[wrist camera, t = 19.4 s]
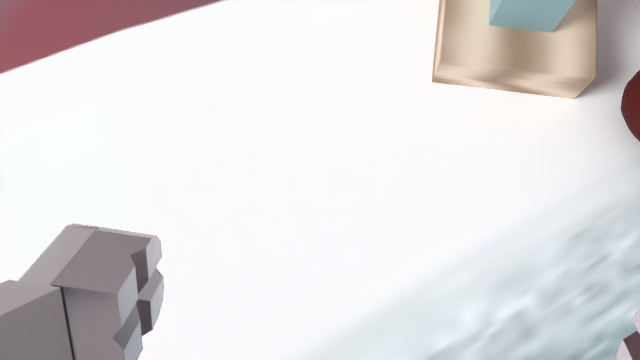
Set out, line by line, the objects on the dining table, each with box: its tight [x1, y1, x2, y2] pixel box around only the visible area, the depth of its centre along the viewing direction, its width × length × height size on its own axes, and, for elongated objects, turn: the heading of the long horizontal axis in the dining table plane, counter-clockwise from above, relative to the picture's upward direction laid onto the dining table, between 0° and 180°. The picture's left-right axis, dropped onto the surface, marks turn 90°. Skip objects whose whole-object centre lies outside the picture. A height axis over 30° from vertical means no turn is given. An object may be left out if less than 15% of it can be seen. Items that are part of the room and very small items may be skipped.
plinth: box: [432, 0, 597, 99], centre depth 49 cm, size 12×12×4 cm
